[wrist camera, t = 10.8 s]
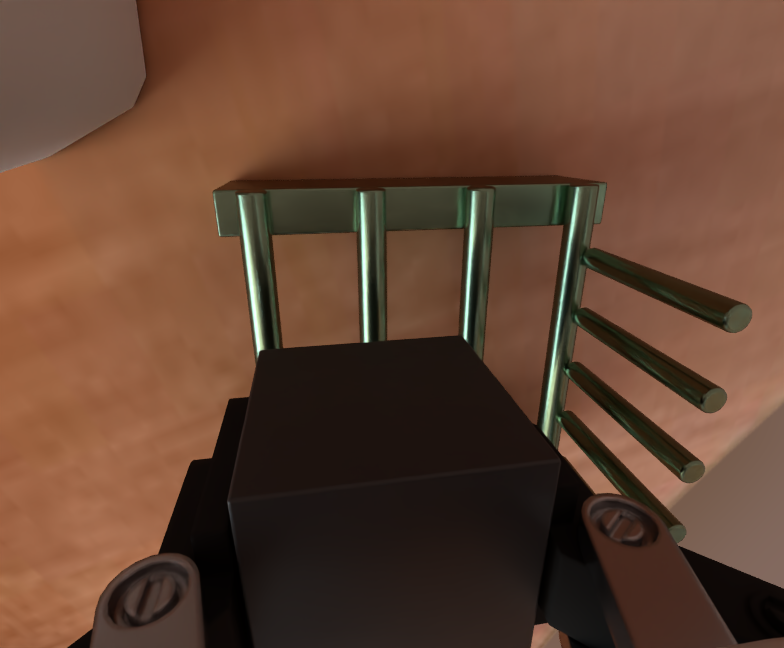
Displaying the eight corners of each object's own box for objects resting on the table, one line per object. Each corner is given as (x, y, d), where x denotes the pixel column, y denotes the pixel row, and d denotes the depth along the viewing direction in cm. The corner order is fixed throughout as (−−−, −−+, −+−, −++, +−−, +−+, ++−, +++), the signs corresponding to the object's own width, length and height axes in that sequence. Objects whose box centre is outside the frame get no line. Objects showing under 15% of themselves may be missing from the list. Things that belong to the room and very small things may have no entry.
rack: (557, 175, 16) (806, 210, 8) (524, 442, 20) (666, 641, 12) (230, 180, 14) (132, 232, 6) (266, 470, 19) (236, 724, 11)
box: (462, 334, 11) (563, 460, 7) (452, 502, 13) (526, 683, 8) (258, 348, 10) (225, 500, 6) (280, 524, 12) (267, 736, 8)
